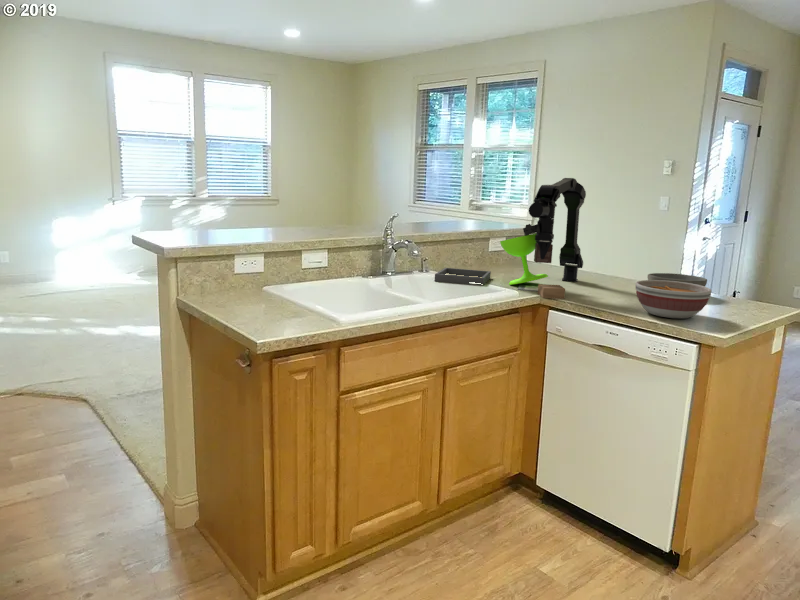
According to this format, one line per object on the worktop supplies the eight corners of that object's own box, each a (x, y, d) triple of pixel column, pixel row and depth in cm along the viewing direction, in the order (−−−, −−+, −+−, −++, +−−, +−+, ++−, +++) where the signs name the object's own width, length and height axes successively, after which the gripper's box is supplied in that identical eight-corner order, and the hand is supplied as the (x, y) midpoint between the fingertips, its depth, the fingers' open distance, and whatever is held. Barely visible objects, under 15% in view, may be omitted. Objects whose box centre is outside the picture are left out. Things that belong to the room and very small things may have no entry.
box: (549, 262, 239) (550, 243, 238) (551, 263, 233) (553, 244, 232) (533, 261, 240) (535, 242, 239) (535, 262, 234) (537, 243, 233)
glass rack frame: (445, 274, 267) (445, 267, 267) (490, 278, 262) (490, 271, 261) (434, 281, 248) (434, 274, 248) (483, 285, 243) (483, 278, 242)
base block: (537, 294, 230) (538, 284, 229) (558, 295, 230) (559, 284, 229) (542, 298, 222) (543, 287, 221) (564, 299, 222) (565, 288, 222)
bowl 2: (671, 325, 186) (675, 293, 184) (617, 309, 206) (620, 280, 204) (723, 321, 195) (728, 290, 193) (667, 306, 215) (670, 278, 213)
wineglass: (504, 284, 254) (495, 242, 253) (541, 276, 255) (532, 234, 254) (514, 284, 238) (505, 239, 237) (553, 276, 239) (544, 231, 238)
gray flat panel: (520, 285, 246) (520, 284, 246) (555, 288, 242) (555, 287, 242) (517, 289, 236) (517, 288, 236) (554, 293, 233) (554, 291, 232)
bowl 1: (645, 297, 232) (647, 276, 230) (645, 289, 251) (647, 269, 249) (706, 303, 224) (709, 282, 222) (702, 294, 243) (705, 274, 241)
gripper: (527, 216, 245) (523, 255, 247) (523, 217, 227) (519, 258, 230) (555, 218, 242) (551, 257, 244) (553, 219, 224) (549, 261, 227)
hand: (542, 258), depth 236 cm, fingers closed on box, 6 cm apart
